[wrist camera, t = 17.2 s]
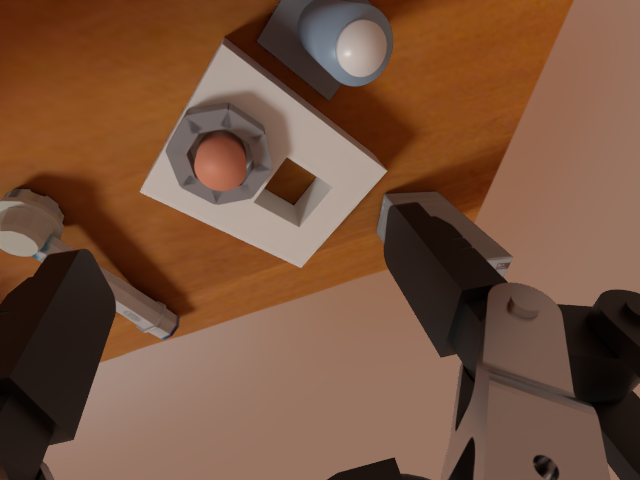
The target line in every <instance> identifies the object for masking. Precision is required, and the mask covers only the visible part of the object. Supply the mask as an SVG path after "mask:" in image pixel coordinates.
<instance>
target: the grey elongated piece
mask: <svg viewBox="0 0 640 480" xmlns="http://www.w3.org/2000/svg"><path fill="white" fill-rule="evenodd" d="M58 205H59V204H58V203H56V202H55V201H54V200H52V199H51V198H50V197H48V196H47V195H46V196H41V195H38V194H36V193H33V192H31V189H15V190H13V191H11V192H9V193H7V194H6V195H5V197H4V198H2V199H0V249H2V250H4V251H6V252H8V253H10V254H13V255H17V256H32V257H34V258H35V259H37V260H39V261H40V262H43V261H44V259H45V258H46V257H47V256H48V255H49V254H52V253H59V252H66V251H73V250H75V249H73V248H72V247H70V246H68V245H67V244H65V243H64V242H62V241H61V240H60V239H61V237H62V233H63V229H64V226H63V224H62V223H63V219H64V215H63V214H62V212H61V210H60V209H59V207H58ZM98 266H99V265H98ZM99 267H100V269H101V271H102V273H103V275H104V277H105V278H106V280H107V282H108V284H109V286H110V287H111V289H112V291H113V293H114V296H115V301H116V311H117V312H118V313H120V314H121V315H123V316H124V317H126V318H128V319H129V320H131V321H132V322H134V323H135V324H137V328H138V329H139V330H141V331H143V332H144V333H146V332H150V333H152V334H153V335H155V336H157V337H159V338H160V339H162V340H164V339H166V338H168V337H171V336H172V335H173V334H174V333H175V331H176V330H177V328H178V327H179V319H180V317H178V316H177V315H175V314H174V313H172V312H171V311H169V310H168V309H166V305H165V304H163V303H161V302H159V301H157V302H155V301H154V300H152V299H151V298H149V297H148V296H146V295H144V294H143V293H141V292H140V291H138V290H137V289H135V288H134V287H132V286H130V285H129V284H127V283H126V282H124V281H123V280H121V279H120V278H118V277H117V276H115V275H113V274H112V273H110V272H109V271H107V270H106V269H104V268H103V267H101V266H99Z"/></svg>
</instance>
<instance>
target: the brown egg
mask: <svg viewBox="0 0 640 480" xmlns="http://www.w3.org/2000/svg"><path fill="white" fill-rule="evenodd" d="M194 169H195V173H196V175H197V177H198V179H199V180H200V181H201V182H202V183H203V184H204V185H205V186H207V187H208V188H211V189H213V190H217V191H228V190H232V189H234V188H236V187H237V186H239V185H240V184H241V183H242V182H243V180H244V178H245V176H246V171H247V168H246V151H245V147H244V145H243V143H242V141H241V140H240V139H239V138H238V137H237V136H236V135H234V134H233V133H230V132H228V131H223V130H216V131H212V132H210V133H208V134H206V135H205V136H204V137H203V138H202V139H201V141H200V143H199V146H198V150H197V154H196V158H195V163H194Z"/></svg>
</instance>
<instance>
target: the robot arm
mask: <svg viewBox="0 0 640 480" xmlns="http://www.w3.org/2000/svg"><path fill="white" fill-rule="evenodd" d="M384 257H385V262H386V265H387V267H388V269H389V271H390V272H391V274H392V276H393V277H394V279H395V281H396V282H397V284H398V286H399V287H400V289H401V291H402V292H403V294H404V296H405V297H406V299H407V301H408V303H409V305H410V306H411V308H412V310H413V311H414V313H415V315H416V316H417V318H418V320H419V321H420V323H421V325H422V327H423V328H424V330H425V332H426V333H427V335H428V337H429V338H430V340H431V342H432V343H433V345H434V347H435V349H436V350H437V352H438V354H439V355H440V357H445V356H450V355H454V354H457V355H458V357H459V358H460V360H461V361H462V364H461V366H460V371H459V378H458V384H457V392H456V399H455V406H454V414H453V421H452V428H451V435H450V441H449V445H448V449H447V453H446V456H445V460H444V465H443V470H442V475H441V480H610V475H609V470H608V465H607V463H608V464H609V466H610V467H611V468H612V469H613V471H614V472H615V473H616V475H617V476H618V477H619V479H620V480H640V398H639V397H638V396H637V395H636V394H635V393H634V392H633V391H632V390H633V389H634V388H635V387H636V386H637V385H638V384H639V383H640V294H639V293H636V292H631V291H626V290H609V291H605V292H603V293H602V294H601V295H600V296H599V298H598V299H597V301H596V302H595V304H594V305H593V307H589V306H588V307H587V306H575V305H560V304H556V303H555V302H554V301H553V300H552V299H551V298H550V297H549V296H547V295H546V294H544V293H543V292H541V291H539V290H537V289H535V288H533V287H530V286H527V285H523V284H519V283H508V282H507V281H506V280H505V279H504V278H503V277H502V276H501V275H500V274H499V273H498V272H497V271H496V269H495V268H494V267H493V266H492V265H491V264H490V263H489V262H488V261H487V260H486V259H485V258H484V257H483V256H482V255H481V254H480V253H479V252H478V251H477V250H476V249H475V248H472V245H471V244H470V243H469V242H468V241H467V240H466V239H465V238H463V236H462V235H461V234H460V232H459V231H458V230H457V229H456V228H455V227H454V226H453V225H452V224H450V223H448V222H446V221H444V220H442V219H441V218H439V217H437V216H432V217H431V216H430V215H429V214H428V213H427V211H426V210H425V209H424V208H423V207H422V206H421V205H420V204H419V203H418V202H411V203H404V204H397V205H391V206H390V207H389V209H388V214H387V223H386V232H385V241H384ZM115 313H116V301H115V296H114V293H113V291H112V289H111V287H110V286H109V284H108V282H107V280H106V278H105V277H104V275H103V273H102V271H101V269H100V267H99V266H98V264H97V262H96V260H95V258H94V257H93V255H92V254H91V252H90V251H88V250H87V249H80V250H73V251H66V252H59V253H52V254H49V255H48V256H47V257H46V258H45V259H44V261H43V262H42V264H41V265H40V267H39V268H38V270H37V271H36V273H35V274H34V276H33V277H29V278H27V279H26V280H25V281H24V282H22V283H21V284H20V285H19V286H17V287H16V288H15V289H14V290H13V291H11V292H10V293H9V294H8V295H7V296H6V298H5V299H4V300H3V302H2V303H1V305H0V480H54V478H53V476H52V474H51V472H50V470H49V467H48V466H47V465H46V464H45V463H44V462H43V458H44V455H45V453H46V450H47V448H48V446H49V445H53V444H58V443H62V442H66V441H71V440H74V437H75V434H76V431H77V428H78V425H79V422H80V419H81V416H82V412H83V410H84V407H85V404H86V401H87V398H88V395H89V392H90V388H91V386H92V383H93V380H94V377H95V374H96V371H97V368H98V365H99V362H100V359H101V356H102V353H103V350H104V347H105V344H106V341H107V338H108V335H109V332H110V329H111V326H112V323H113V320H114V317H115ZM328 480H430V479H427V478H424V477H420V476H415V475H410V474H400V471H399V468H398V466H397V463H396V460H395V458H390V459H387V460H383V461H379V462H376V463H372V464H369V465H365V466H361V467H358V468H354V469H350V470H347V471H343V472H339V473H337V474H335V475H334V476H332V477H330V478H329V479H328Z"/></svg>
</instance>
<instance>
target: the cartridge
mask: <svg viewBox="0 0 640 480" xmlns="http://www.w3.org/2000/svg"><path fill="white" fill-rule="evenodd" d="M298 37H299V40H300V43H301V45H302V46H303V48H304V49H305V50H306V51H307V52H308V53H309V54H310V55H311V56H312V57H313V58H314V59H315V60H316V61H317V62H318V63H319V64H320V65H321V66H322V67H323V68H324V69H325V70H326V71H328V72H329V73H330V74H331V75H332V76H333V77H334V78H335V79H336V80H337V81H339V82H340V83H342V84H345V85H348V86H362V85H365V84H368V83H370V82H371V81H373V80H375V79H376V78H377V77H378V76H379V75H380V74H381V73H382V72H383V70H384V69H385V67H386V66H387V64H388V62H389V60H390V57H391V53H392V48H393V34H392V29H391V26H390V24H389V22H388V20H387V18H386V17H385V15H384V14H383V13H382V12H381V11H380V10H379V9H377V8H376V7H374V6H371V5H368V4H362V3H355V2H348V1H341V0H314V1H312V2H310V3H309V4H308V5H307V6H306V7H305V8H304V9H303V11H302V13H301V15H300V18H299V21H298Z"/></svg>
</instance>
